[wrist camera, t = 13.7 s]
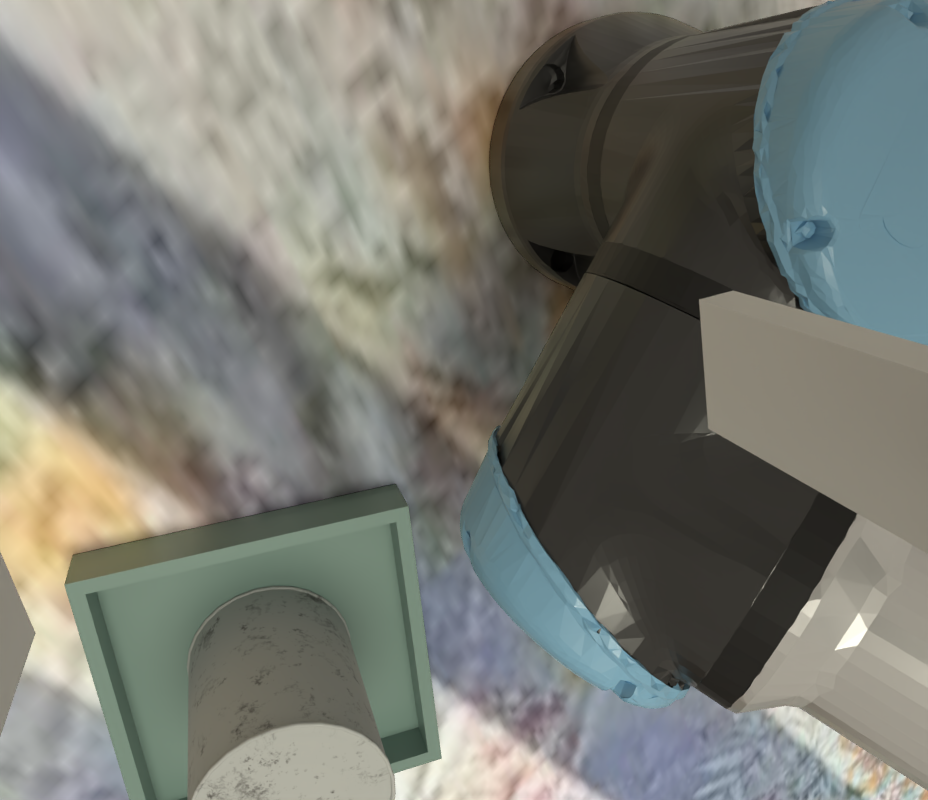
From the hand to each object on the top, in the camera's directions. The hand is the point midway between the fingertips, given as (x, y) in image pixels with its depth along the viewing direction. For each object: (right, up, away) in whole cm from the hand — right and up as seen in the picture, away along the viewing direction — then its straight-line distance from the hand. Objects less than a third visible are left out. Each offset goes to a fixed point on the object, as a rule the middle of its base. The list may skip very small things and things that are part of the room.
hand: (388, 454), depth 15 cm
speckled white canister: (-10, -14, +34) cm, 38 cm away
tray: (-10, -14, +35) cm, 39 cm away
